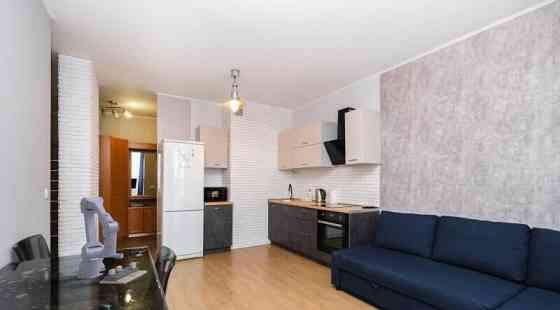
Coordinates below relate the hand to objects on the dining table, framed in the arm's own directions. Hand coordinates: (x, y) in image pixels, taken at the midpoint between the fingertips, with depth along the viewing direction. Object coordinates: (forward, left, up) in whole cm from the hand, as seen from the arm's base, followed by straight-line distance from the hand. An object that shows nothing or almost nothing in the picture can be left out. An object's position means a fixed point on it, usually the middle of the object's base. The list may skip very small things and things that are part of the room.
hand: (108, 272), depth 146 cm
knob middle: (+1, +6, -1) cm, 6 cm away
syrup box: (-21, +19, -5) cm, 28 cm away
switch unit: (+5, +6, -4) cm, 9 cm away
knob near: (+2, 0, -1) cm, 2 cm away
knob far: (+5, +12, -1) cm, 13 cm away
